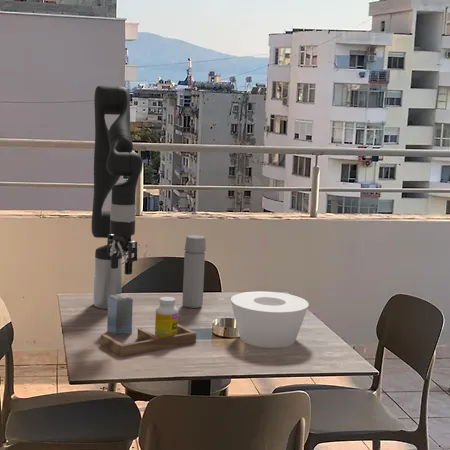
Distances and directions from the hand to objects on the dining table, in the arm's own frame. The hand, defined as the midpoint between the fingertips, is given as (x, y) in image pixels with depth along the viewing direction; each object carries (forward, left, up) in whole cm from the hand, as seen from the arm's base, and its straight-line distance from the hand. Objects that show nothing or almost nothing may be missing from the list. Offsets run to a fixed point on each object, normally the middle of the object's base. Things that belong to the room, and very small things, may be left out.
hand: (121, 271), depth 221 cm
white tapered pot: (+27, +37, -20) cm, 50 cm away
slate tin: (0, 0, -19) cm, 19 cm away
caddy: (+13, +3, -19) cm, 24 cm away
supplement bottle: (+13, +9, -20) cm, 25 cm away
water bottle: (-15, +38, -20) cm, 45 cm away
